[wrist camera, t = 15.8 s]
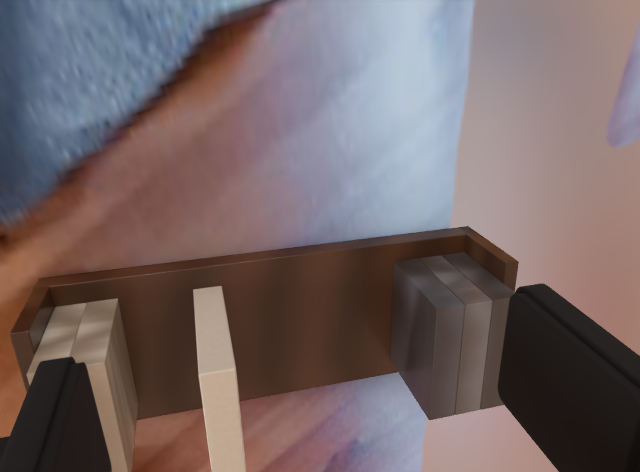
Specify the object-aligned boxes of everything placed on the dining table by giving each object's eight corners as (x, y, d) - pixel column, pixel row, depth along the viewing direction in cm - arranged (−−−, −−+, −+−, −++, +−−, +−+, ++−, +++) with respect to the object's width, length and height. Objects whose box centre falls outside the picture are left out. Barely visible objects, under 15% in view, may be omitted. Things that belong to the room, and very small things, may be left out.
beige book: (221, 285, 37) (236, 368, 28) (232, 387, 41) (248, 491, 32) (192, 289, 37) (198, 375, 28) (206, 392, 40) (215, 498, 31)
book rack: (468, 225, 43) (536, 274, 34) (456, 350, 47) (514, 418, 39) (38, 278, 35) (-3, 354, 27) (74, 418, 40) (48, 519, 32)
